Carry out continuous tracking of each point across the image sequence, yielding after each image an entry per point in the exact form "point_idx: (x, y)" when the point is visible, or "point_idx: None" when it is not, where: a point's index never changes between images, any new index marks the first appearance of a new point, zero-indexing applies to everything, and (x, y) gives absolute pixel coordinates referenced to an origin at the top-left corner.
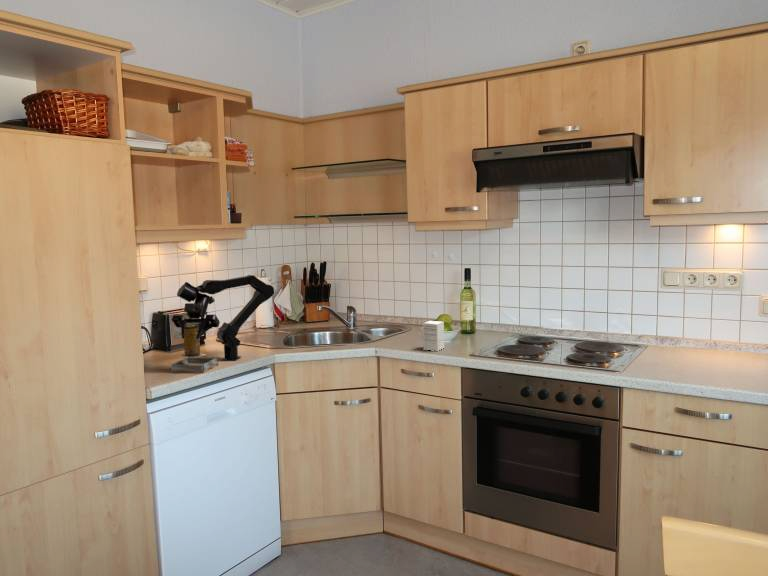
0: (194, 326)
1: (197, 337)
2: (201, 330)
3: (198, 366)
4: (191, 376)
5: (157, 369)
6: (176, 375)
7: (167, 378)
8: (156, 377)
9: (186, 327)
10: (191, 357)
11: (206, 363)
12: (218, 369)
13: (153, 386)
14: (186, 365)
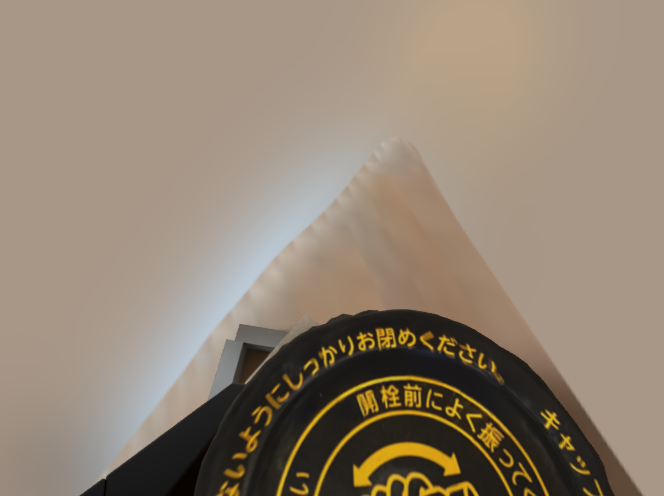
0: (258, 399)
1: (237, 383)
2: (111, 483)
3: (262, 329)
4: (291, 271)
5: None
6: (379, 298)
7: (399, 245)
8: (464, 268)
9: (464, 327)
10: (307, 318)
11: (215, 394)
12: (150, 437)
13: (397, 143)
14: None
